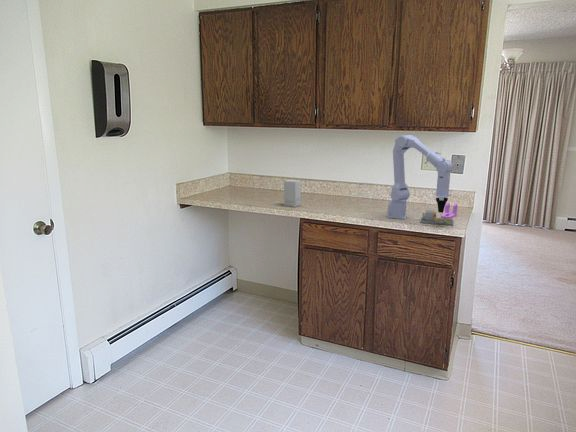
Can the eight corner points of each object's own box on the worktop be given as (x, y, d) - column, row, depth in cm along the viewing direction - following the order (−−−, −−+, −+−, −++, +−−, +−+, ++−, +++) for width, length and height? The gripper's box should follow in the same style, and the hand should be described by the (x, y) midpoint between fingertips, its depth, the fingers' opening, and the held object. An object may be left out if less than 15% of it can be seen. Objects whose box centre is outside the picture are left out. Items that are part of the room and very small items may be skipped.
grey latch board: (420, 222, 225) (420, 215, 224) (422, 218, 236) (422, 211, 235) (453, 225, 219) (453, 218, 218) (453, 220, 230) (454, 213, 229)
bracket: (446, 214, 247) (447, 202, 245) (456, 215, 243) (457, 203, 242) (439, 218, 236) (440, 205, 235) (450, 219, 233) (451, 207, 232)
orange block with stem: (422, 218, 229) (422, 212, 228) (422, 216, 233) (423, 211, 233) (435, 219, 227) (436, 214, 226) (436, 217, 231) (436, 212, 230)
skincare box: (300, 205, 265) (301, 180, 262) (295, 207, 260) (295, 181, 256) (289, 204, 270) (289, 179, 266) (283, 205, 264) (283, 180, 261)
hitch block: (420, 221, 229) (421, 211, 228) (421, 218, 234) (422, 209, 233) (446, 223, 224) (446, 213, 223) (446, 220, 230) (447, 211, 229)
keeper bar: (433, 220, 223) (433, 217, 223) (433, 220, 224) (434, 217, 224) (452, 222, 220) (452, 219, 219) (452, 222, 221) (452, 219, 220)
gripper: (451, 187, 207) (448, 215, 210) (452, 183, 220) (449, 210, 223) (435, 187, 209) (433, 214, 212) (437, 183, 223) (435, 209, 226)
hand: (440, 212), depth 218 cm, fingers closed
